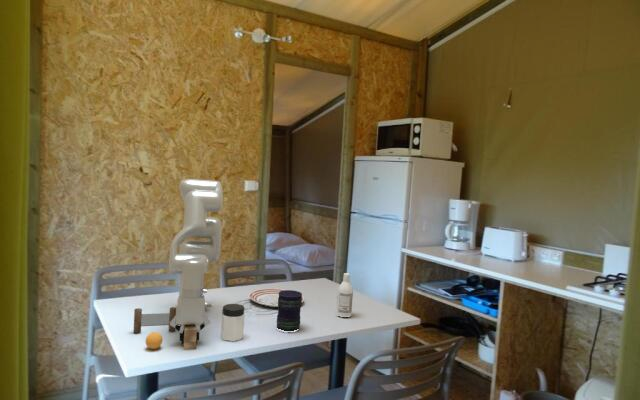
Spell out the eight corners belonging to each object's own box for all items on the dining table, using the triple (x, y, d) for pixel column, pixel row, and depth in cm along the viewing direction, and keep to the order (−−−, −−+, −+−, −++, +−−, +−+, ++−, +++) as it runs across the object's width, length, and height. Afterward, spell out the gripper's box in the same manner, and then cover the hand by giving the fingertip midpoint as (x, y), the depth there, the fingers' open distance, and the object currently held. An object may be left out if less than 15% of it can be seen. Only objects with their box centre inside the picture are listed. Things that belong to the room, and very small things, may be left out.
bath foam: (353, 318, 202) (356, 275, 201) (339, 319, 200) (342, 275, 198) (347, 313, 209) (350, 271, 207) (333, 314, 206) (337, 272, 205)
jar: (234, 331, 175) (236, 302, 175) (247, 337, 170) (249, 307, 169) (215, 337, 168) (217, 306, 168) (229, 343, 163) (231, 311, 162)
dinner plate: (314, 302, 223) (314, 296, 223) (281, 315, 200) (281, 308, 200) (271, 291, 238) (272, 285, 238) (236, 302, 215) (237, 295, 215)
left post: (140, 331, 169) (142, 308, 168) (140, 333, 166) (141, 310, 166) (133, 331, 168) (134, 308, 167) (133, 334, 165) (134, 310, 165)
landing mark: (173, 313, 191) (173, 312, 191) (173, 324, 178) (173, 324, 178) (138, 314, 187) (138, 314, 187) (136, 326, 173) (136, 325, 173)
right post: (175, 329, 173) (176, 307, 172) (175, 331, 171) (176, 309, 170) (168, 329, 172) (169, 307, 172) (168, 332, 170) (169, 309, 169)
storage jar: (290, 335, 176) (293, 298, 175) (271, 328, 181) (273, 293, 180) (304, 328, 184) (306, 293, 184) (285, 322, 190) (287, 288, 189)
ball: (162, 344, 158) (162, 329, 157) (162, 351, 152) (162, 335, 152) (145, 345, 156) (146, 330, 156) (144, 352, 151) (145, 336, 150)
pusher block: (193, 338, 165) (194, 320, 165) (195, 349, 156) (196, 329, 156) (182, 339, 164) (183, 320, 164) (183, 349, 155) (184, 330, 154)
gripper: (214, 289, 165) (211, 337, 166) (167, 290, 160) (164, 339, 161) (216, 295, 158) (213, 344, 159) (167, 296, 153) (164, 347, 154)
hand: (189, 341), depth 160 cm, fingers closed on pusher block, 4 cm apart
